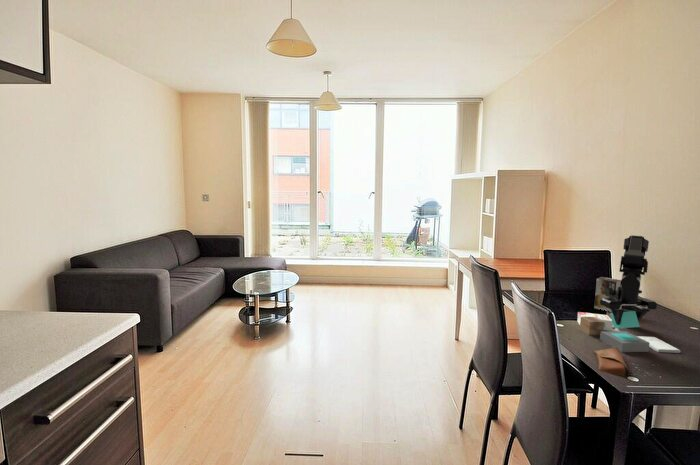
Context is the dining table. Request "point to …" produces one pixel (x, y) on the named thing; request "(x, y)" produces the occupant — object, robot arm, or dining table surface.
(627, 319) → the teal block
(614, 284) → the coffee box
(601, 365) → the sunglasses case
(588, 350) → the dining table surface
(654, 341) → the external hard drive
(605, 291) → the robot arm
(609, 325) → the ink cartridge box
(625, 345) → the charcoal plinth
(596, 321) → the walnut block
